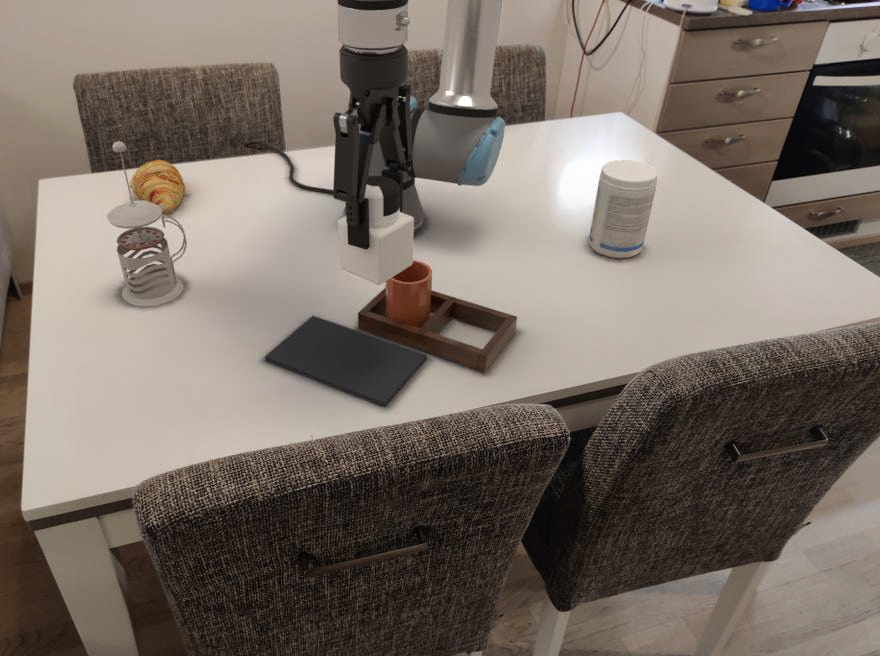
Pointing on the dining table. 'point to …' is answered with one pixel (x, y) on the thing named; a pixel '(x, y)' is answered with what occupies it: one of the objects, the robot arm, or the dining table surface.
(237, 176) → the dining table surface
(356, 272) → the medicine bottle
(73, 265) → the dining table surface
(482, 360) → the cup holder
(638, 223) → the supplement tub
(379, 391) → the mat
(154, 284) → the french press
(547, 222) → the dining table surface
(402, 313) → the terracotta cup
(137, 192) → the croissant
